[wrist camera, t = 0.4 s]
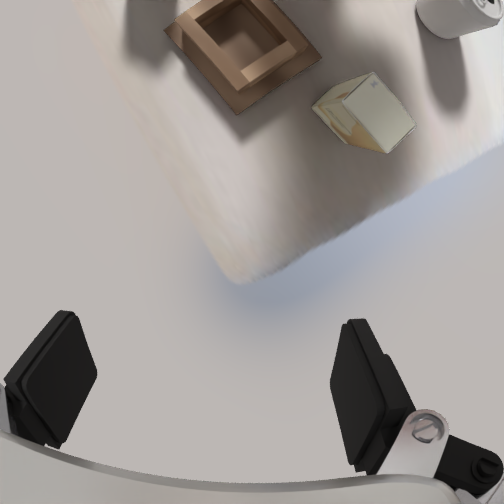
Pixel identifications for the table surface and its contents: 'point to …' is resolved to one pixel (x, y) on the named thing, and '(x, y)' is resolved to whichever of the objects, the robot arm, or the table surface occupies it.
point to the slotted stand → (242, 47)
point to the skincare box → (365, 114)
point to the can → (459, 16)
